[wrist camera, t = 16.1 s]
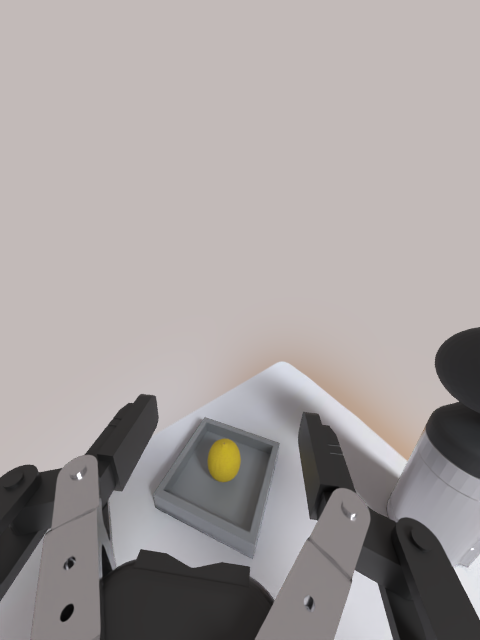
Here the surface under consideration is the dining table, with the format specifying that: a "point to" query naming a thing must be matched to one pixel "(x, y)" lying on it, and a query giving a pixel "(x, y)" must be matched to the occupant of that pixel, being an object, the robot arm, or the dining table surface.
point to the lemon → (224, 460)
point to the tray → (220, 487)
